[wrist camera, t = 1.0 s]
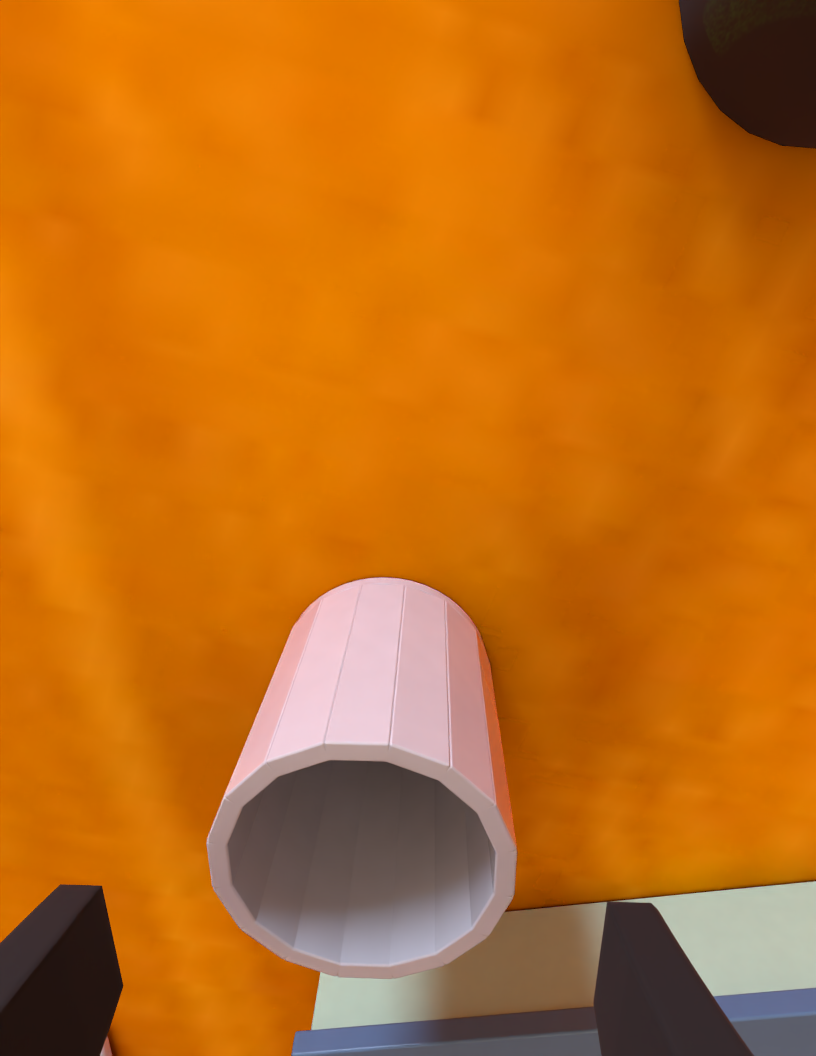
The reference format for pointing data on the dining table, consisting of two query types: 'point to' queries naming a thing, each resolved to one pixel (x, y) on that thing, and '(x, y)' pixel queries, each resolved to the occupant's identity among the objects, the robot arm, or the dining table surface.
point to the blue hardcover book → (582, 982)
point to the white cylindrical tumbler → (371, 791)
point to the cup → (757, 63)
